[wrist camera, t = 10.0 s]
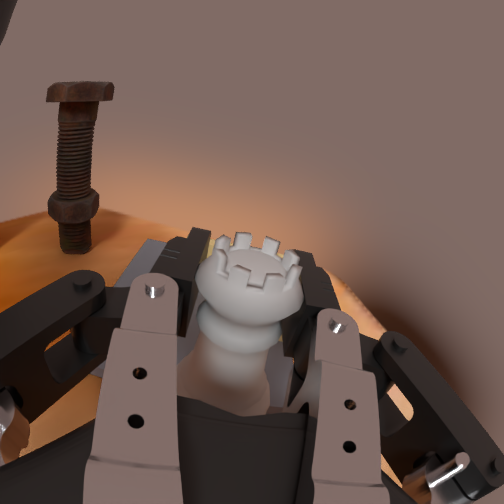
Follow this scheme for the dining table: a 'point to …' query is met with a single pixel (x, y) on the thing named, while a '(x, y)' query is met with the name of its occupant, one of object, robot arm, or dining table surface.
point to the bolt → (75, 161)
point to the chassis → (275, 362)
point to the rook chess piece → (239, 323)
